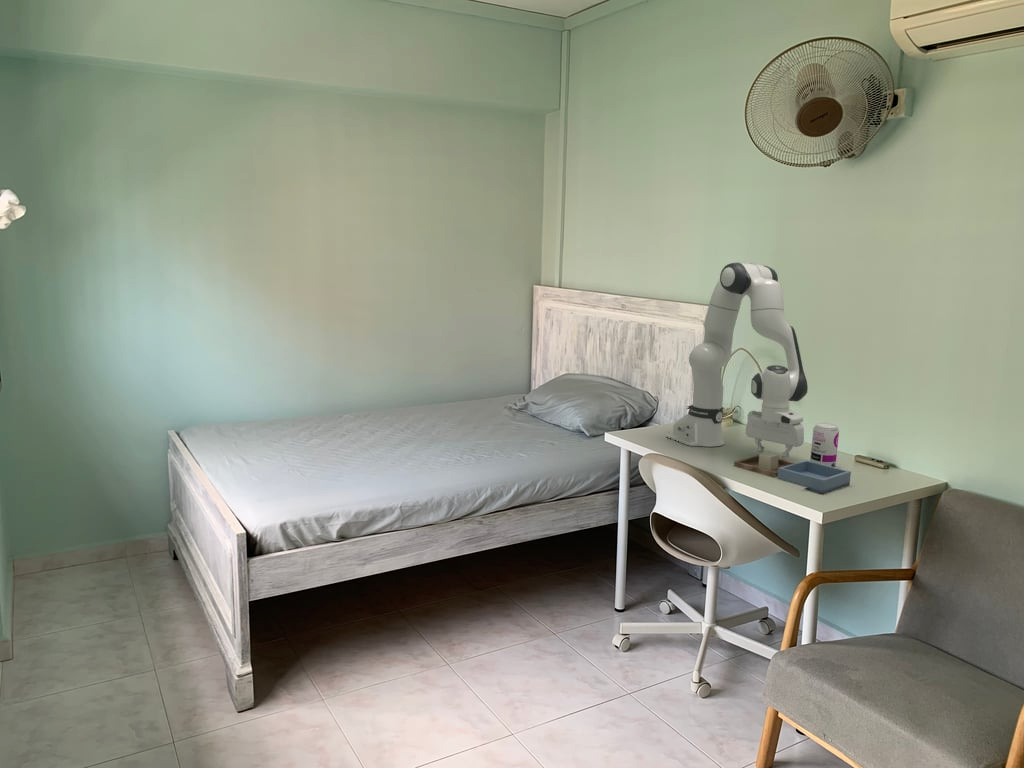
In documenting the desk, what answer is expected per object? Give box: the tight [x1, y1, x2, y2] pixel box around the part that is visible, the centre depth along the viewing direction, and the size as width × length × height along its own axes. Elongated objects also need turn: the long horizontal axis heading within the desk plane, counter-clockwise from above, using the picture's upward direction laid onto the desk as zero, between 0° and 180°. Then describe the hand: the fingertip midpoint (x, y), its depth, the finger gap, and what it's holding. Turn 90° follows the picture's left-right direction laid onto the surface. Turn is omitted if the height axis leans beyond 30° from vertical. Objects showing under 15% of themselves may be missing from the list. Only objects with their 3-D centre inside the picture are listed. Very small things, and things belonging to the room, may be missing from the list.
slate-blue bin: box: [776, 459, 852, 495], centre depth 257 cm, size 16×16×4 cm
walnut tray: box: [733, 454, 795, 479], centre depth 270 cm, size 16×16×2 cm
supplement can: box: [809, 422, 840, 468], centre depth 273 cm, size 8×8×15 cm
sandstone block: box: [758, 452, 779, 470], centre depth 270 cm, size 4×4×4 cm
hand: (772, 454), depth 269 cm, fingers open, 8 cm apart
